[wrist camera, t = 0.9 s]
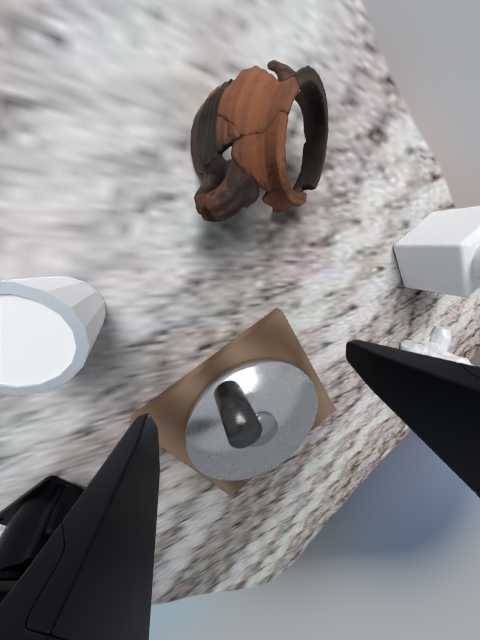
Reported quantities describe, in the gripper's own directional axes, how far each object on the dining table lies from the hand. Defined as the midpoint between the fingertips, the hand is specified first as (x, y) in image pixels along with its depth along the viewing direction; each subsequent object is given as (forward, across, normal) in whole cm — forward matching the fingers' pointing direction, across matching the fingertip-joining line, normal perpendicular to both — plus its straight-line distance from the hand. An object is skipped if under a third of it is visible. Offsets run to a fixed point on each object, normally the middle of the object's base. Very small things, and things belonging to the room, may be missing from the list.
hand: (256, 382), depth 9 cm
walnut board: (+13, -1, +16) cm, 21 cm away
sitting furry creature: (+15, -32, +21) cm, 41 cm away
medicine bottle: (+16, -28, +3) cm, 33 cm away
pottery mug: (+15, -5, -10) cm, 19 cm away
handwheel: (+11, -1, +16) cm, 20 cm away
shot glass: (+13, +12, -2) cm, 18 cm away
